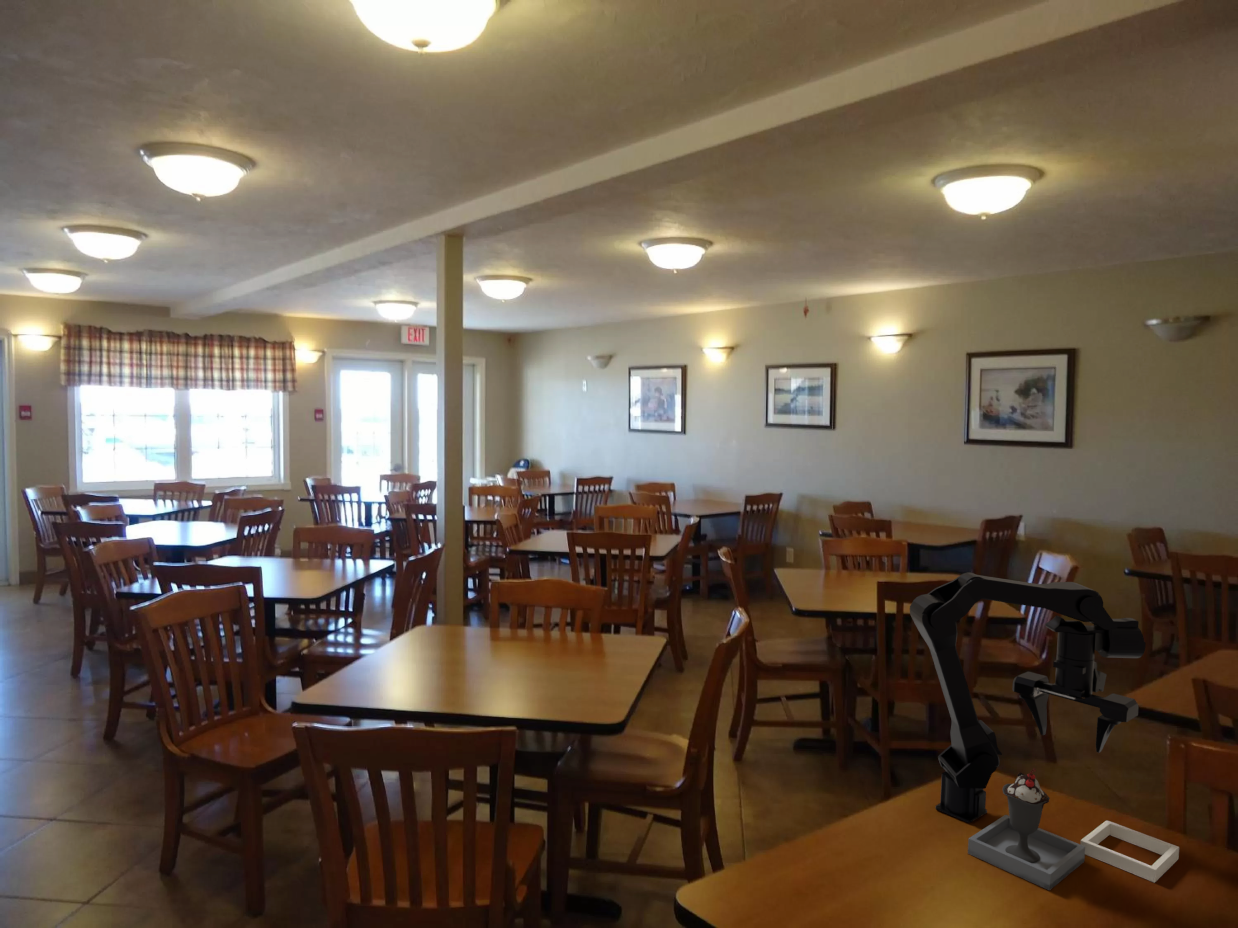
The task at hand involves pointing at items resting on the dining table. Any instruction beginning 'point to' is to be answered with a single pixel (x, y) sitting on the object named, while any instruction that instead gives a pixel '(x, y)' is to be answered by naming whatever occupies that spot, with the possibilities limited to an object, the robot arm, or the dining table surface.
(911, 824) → the dining table surface
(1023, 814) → the sundae
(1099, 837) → the white square frame
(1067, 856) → the tray
